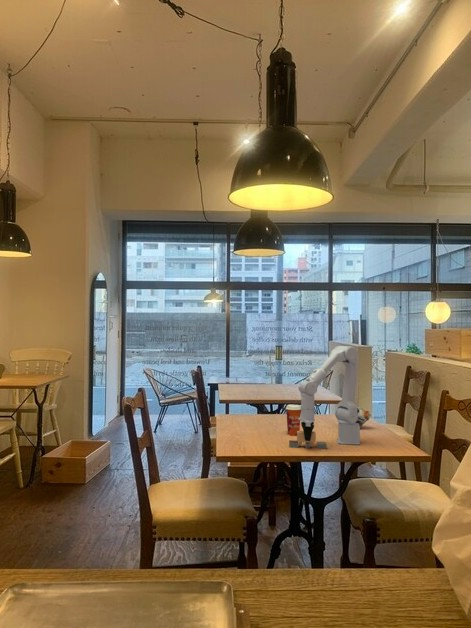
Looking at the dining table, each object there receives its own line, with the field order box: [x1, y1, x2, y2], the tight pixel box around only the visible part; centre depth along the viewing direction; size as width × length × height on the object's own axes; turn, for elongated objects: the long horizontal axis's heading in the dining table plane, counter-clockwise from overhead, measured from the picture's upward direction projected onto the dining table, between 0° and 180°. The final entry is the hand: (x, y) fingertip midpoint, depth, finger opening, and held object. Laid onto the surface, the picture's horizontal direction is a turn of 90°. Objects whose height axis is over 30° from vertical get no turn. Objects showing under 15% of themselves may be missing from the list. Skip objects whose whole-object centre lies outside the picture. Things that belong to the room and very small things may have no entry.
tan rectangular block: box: [296, 430, 317, 447], centre depth 190 cm, size 8×3×6 cm, turn 82°
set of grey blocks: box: [288, 439, 327, 450], centre depth 190 cm, size 16×4×2 cm, turn 82°
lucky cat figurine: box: [356, 406, 372, 427], centre depth 229 cm, size 15×12×14 cm
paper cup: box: [285, 404, 301, 437], centre depth 213 cm, size 8×8×14 cm
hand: (307, 439), depth 190 cm, fingers closed on tan rectangular block, 3 cm apart
